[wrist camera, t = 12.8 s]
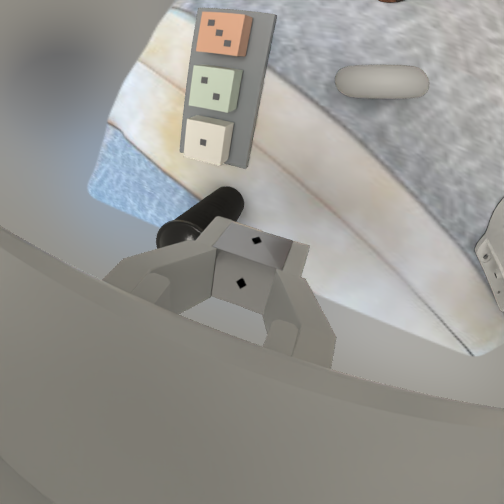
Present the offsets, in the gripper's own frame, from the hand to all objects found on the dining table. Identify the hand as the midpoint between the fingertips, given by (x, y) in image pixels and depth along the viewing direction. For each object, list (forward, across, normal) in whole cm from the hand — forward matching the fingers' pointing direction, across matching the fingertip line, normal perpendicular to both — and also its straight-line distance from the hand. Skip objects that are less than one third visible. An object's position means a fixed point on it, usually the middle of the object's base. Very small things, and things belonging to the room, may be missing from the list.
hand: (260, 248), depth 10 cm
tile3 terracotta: (+30, +14, -7) cm, 34 cm away
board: (+31, +14, 0) cm, 34 cm away
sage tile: (+30, +14, 0) cm, 33 cm away
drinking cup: (+31, +11, +17) cm, 37 cm away
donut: (+31, -4, -6) cm, 32 cm away
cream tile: (+30, +14, +7) cm, 34 cm away
